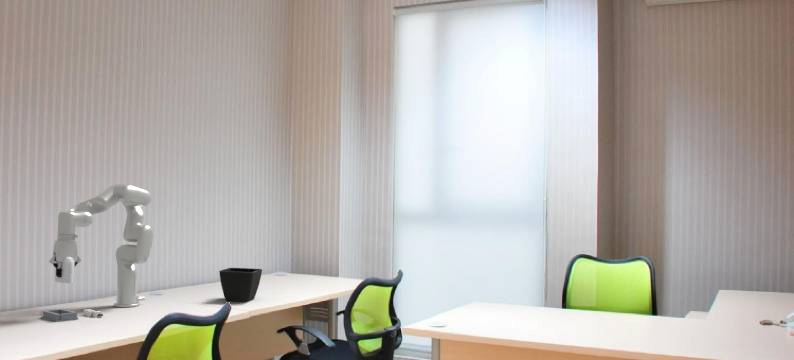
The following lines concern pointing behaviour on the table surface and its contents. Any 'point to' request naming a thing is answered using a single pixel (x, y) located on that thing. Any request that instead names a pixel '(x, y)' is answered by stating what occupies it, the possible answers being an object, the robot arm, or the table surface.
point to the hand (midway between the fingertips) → (64, 276)
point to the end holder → (59, 315)
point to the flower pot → (240, 283)
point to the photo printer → (66, 271)
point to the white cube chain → (93, 313)
